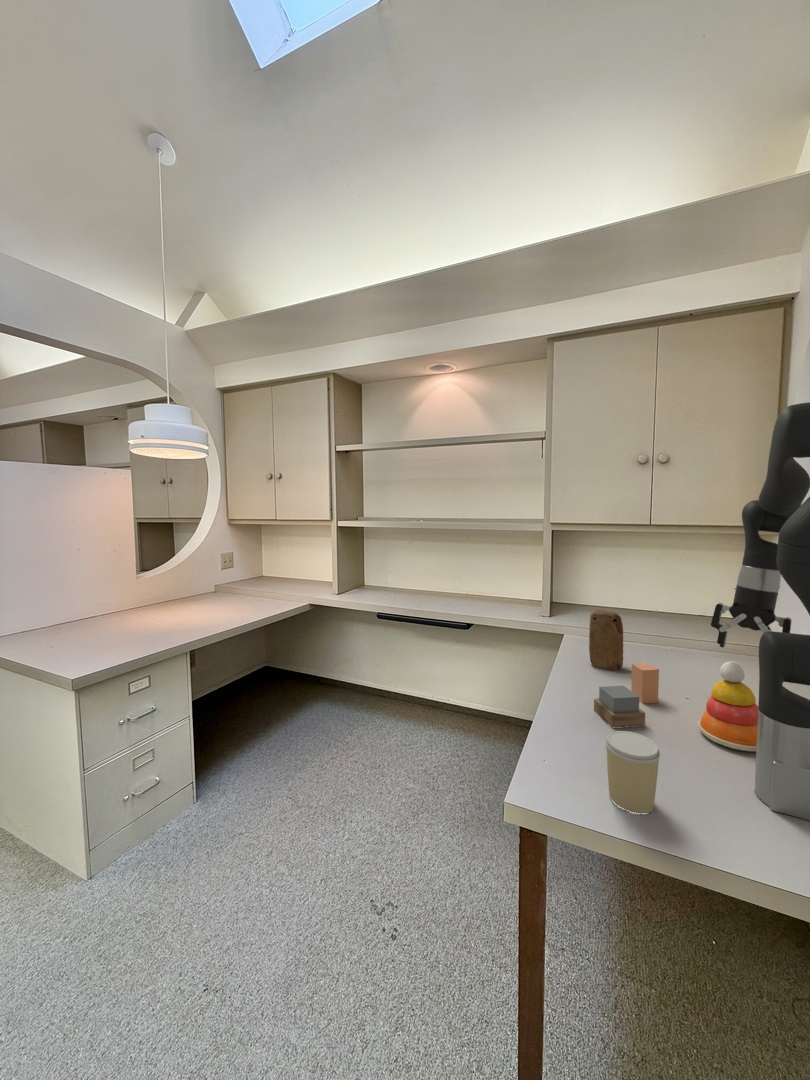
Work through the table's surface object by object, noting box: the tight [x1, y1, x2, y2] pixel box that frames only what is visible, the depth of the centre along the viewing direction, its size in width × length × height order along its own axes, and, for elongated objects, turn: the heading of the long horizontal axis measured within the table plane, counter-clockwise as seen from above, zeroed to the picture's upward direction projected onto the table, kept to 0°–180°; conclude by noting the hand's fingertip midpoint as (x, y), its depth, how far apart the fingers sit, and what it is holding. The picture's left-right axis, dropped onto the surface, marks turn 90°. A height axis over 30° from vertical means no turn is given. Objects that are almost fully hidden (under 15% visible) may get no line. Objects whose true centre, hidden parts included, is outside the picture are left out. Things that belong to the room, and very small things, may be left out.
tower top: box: [598, 685, 640, 713], centre depth 112 cm, size 7×7×4 cm
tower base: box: [593, 698, 646, 729], centre depth 113 cm, size 9×9×4 cm
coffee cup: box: [605, 730, 661, 814], centre depth 81 cm, size 9×9×12 cm
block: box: [588, 609, 624, 671], centre depth 148 cm, size 11×8×20 cm
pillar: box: [630, 662, 660, 704], centre depth 123 cm, size 5×5×10 cm
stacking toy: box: [697, 660, 758, 752], centre depth 101 cm, size 14×14×20 cm
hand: (744, 652), depth 99 cm, fingers open, 8 cm apart
